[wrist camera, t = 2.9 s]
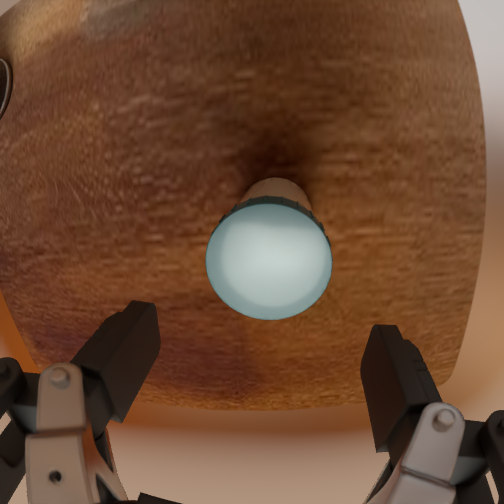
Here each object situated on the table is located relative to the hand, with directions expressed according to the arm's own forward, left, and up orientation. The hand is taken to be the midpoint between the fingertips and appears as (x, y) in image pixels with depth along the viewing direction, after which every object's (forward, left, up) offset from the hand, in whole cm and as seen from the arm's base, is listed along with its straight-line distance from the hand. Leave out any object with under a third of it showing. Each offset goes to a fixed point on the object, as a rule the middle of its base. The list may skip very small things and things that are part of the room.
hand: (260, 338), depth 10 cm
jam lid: (0, 0, -6) cm, 6 cm away
